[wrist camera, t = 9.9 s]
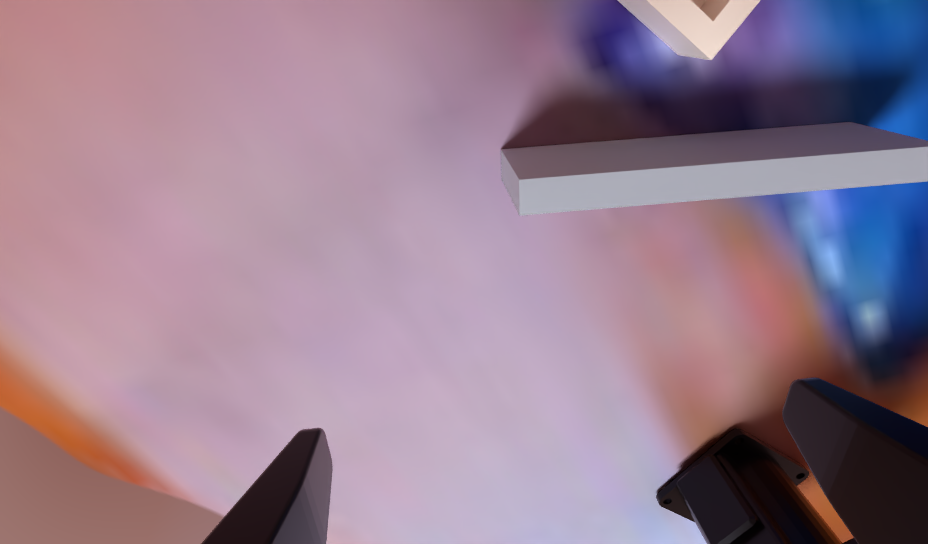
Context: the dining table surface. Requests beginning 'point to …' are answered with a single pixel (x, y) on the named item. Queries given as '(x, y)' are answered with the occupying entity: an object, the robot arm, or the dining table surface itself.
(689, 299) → the dining table surface
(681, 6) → the tray
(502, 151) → the rail
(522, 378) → the dining table surface
